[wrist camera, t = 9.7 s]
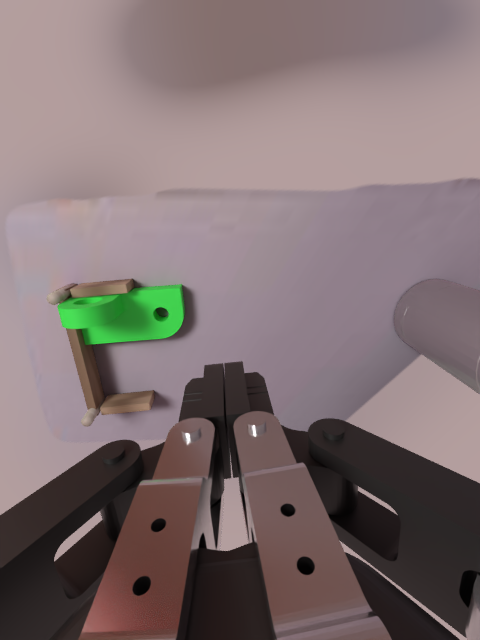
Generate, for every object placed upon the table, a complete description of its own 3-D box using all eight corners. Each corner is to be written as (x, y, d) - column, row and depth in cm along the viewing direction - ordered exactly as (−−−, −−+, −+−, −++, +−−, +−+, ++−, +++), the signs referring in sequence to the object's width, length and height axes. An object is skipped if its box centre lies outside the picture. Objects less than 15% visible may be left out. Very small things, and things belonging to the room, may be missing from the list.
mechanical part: (91, 338, 40) (61, 367, 33) (80, 291, 38) (46, 311, 31) (187, 330, 41) (180, 357, 33) (181, 284, 39) (172, 301, 31)
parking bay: (132, 277, 38) (120, 287, 33) (155, 397, 43) (147, 420, 38) (67, 284, 38) (45, 294, 33) (97, 403, 43) (82, 427, 38)
